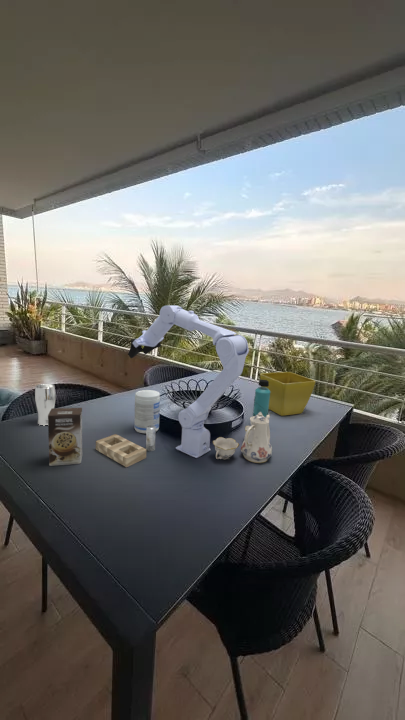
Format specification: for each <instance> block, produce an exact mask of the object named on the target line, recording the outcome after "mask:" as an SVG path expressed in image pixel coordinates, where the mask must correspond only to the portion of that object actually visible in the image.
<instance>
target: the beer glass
mask: <svg viewBox="0 0 405 720" xmlns="http://www.w3.org/2000/svg"><path fill="white" fill-rule="evenodd" d="M34 389H35V390H34V395H35V396H34V400H35V405H36V410H37V413H38V414H37V416H38V417H37V418H38V419H37V425H38V424H39V425H38V426H40V425H43V426H42V427H46V426H45V425H48V414H49V412H50V411H51V409H52V408H55V406H56V405H55V404H56V389H55V384H53V383H41V384H37V385H35V388H34Z"/></svg>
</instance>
